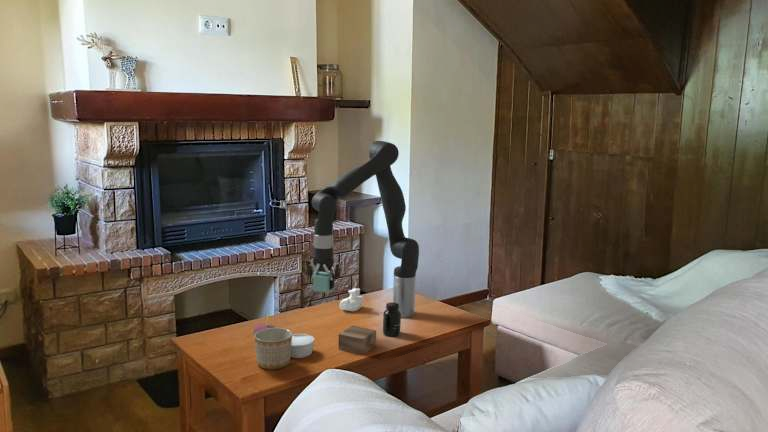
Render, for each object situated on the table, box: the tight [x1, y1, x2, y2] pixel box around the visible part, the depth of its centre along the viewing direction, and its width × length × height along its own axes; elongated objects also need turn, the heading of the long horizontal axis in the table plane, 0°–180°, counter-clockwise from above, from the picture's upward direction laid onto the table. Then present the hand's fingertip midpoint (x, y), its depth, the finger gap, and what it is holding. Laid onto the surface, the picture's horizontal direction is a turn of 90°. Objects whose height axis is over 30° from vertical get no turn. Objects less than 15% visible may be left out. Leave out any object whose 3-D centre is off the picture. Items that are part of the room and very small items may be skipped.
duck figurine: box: [339, 287, 365, 312], centre depth 260 cm, size 12×8×11 cm
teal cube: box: [312, 271, 335, 293], centre depth 233 cm, size 6×6×6 cm
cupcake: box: [252, 312, 276, 336], centre depth 222 cm, size 9×8×12 cm
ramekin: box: [290, 333, 316, 359], centre depth 214 cm, size 11×11×5 cm
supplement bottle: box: [382, 301, 402, 337], centre depth 234 cm, size 7×7×12 cm
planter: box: [253, 327, 293, 370], centre depth 205 cm, size 13×13×10 cm
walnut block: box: [338, 325, 377, 355], centre depth 221 cm, size 10×10×6 cm
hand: (323, 287), depth 233 cm, fingers closed on teal cube, 6 cm apart
